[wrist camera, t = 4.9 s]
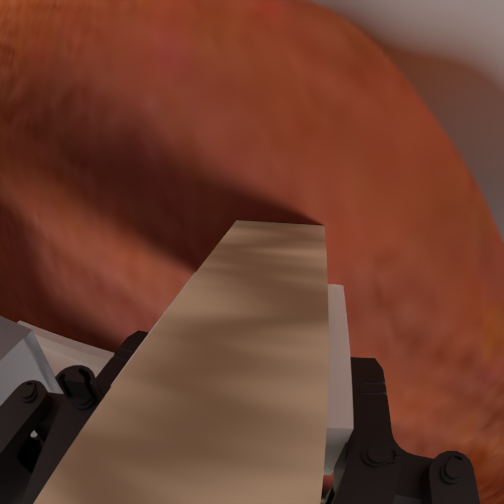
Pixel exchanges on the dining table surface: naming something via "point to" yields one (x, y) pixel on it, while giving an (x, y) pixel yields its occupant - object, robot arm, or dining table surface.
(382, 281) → the dining table surface
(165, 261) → the dining table surface
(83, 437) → the rail
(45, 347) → the cup bracket
